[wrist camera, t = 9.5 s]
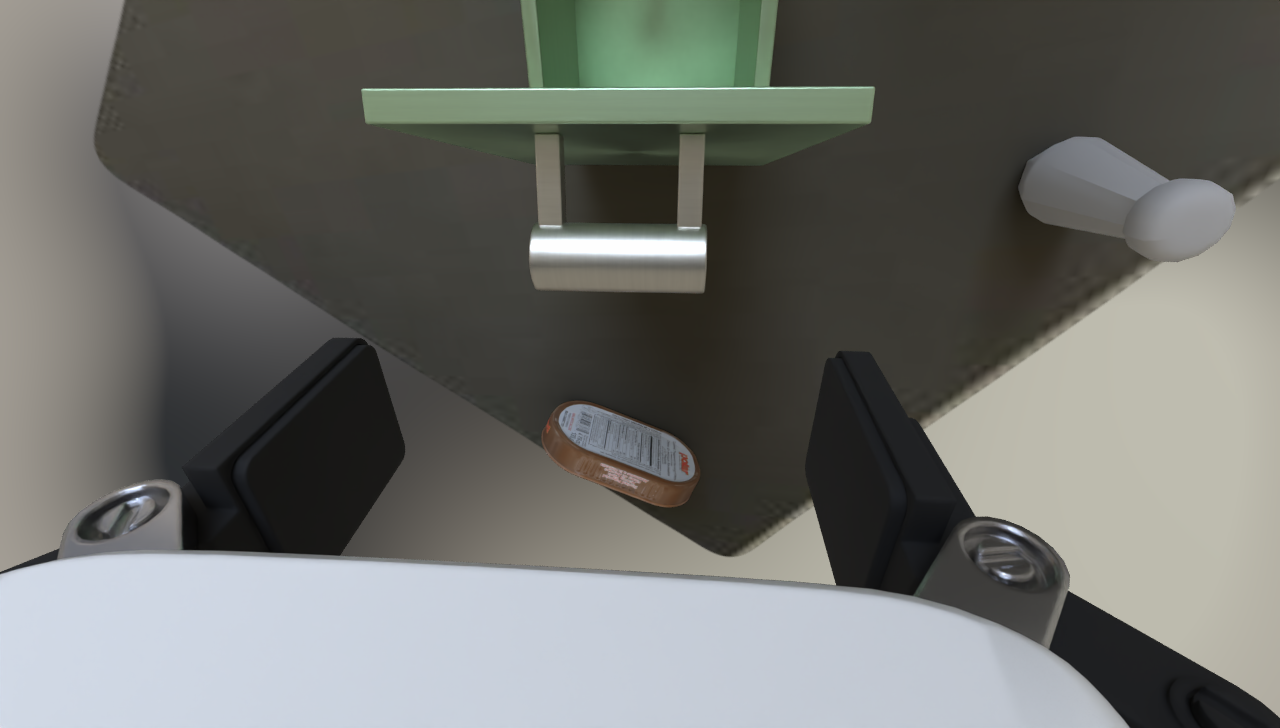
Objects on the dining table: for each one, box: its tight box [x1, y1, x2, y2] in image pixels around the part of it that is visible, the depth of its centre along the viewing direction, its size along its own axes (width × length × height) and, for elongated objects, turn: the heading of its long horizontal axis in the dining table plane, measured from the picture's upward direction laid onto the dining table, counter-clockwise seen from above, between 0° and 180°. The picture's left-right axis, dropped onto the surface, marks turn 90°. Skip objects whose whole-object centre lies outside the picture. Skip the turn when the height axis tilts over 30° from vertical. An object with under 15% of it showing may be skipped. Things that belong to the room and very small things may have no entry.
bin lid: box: [361, 86, 875, 293], centre depth 21 cm, size 16×12×5 cm
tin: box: [542, 401, 700, 507], centre depth 49 cm, size 15×3×8 cm, turn 67°
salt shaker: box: [1018, 137, 1236, 262], centre depth 33 cm, size 6×6×13 cm
